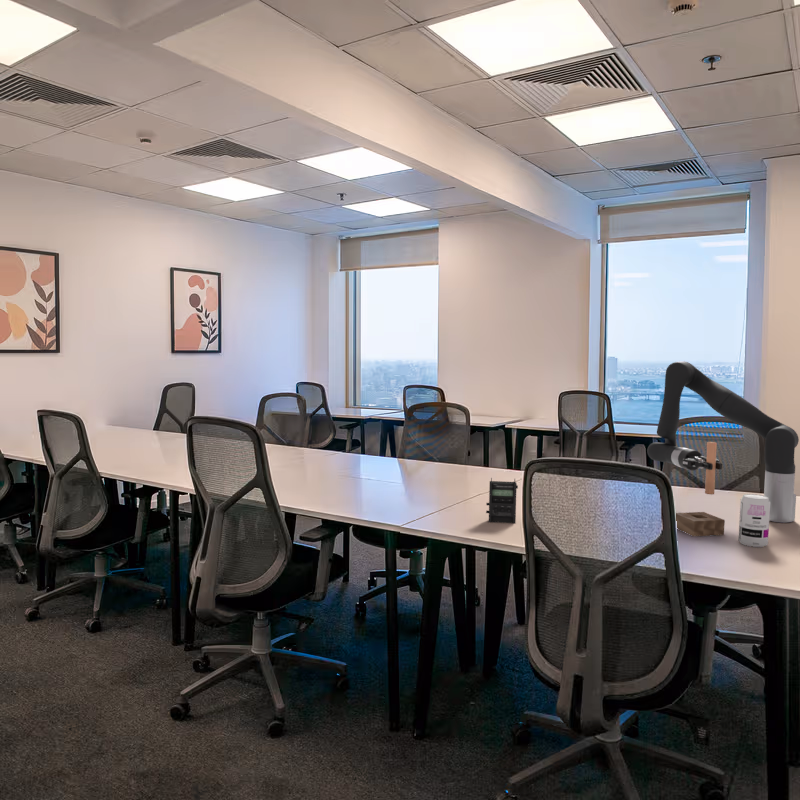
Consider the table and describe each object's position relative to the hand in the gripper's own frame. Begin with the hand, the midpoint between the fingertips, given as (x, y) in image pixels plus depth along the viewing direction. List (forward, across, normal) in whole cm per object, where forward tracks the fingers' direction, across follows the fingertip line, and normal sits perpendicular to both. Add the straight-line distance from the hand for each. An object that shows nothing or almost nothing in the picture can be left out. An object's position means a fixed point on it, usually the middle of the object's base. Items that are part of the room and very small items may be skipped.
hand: (716, 466), depth 241 cm
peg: (-3, 0, +10) cm, 10 cm away
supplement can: (+25, -4, +20) cm, 32 cm away
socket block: (+9, -12, +20) cm, 25 cm away
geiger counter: (-12, -73, +20) cm, 77 cm away
